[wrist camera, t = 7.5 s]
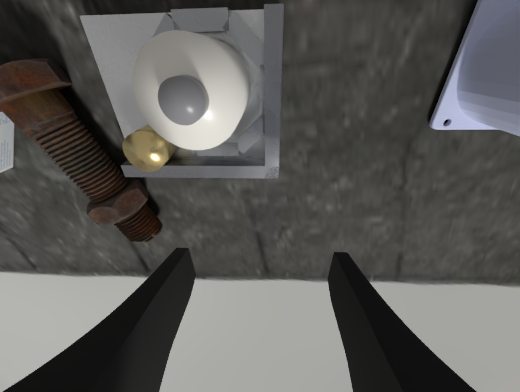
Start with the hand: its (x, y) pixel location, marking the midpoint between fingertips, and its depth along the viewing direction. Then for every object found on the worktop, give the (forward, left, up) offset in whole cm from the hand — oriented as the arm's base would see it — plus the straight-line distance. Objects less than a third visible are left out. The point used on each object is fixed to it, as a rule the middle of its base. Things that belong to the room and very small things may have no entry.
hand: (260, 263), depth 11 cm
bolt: (+14, -1, -10) cm, 18 cm away
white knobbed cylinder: (+4, -7, -9) cm, 12 cm away
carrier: (+5, -6, -10) cm, 13 cm away
